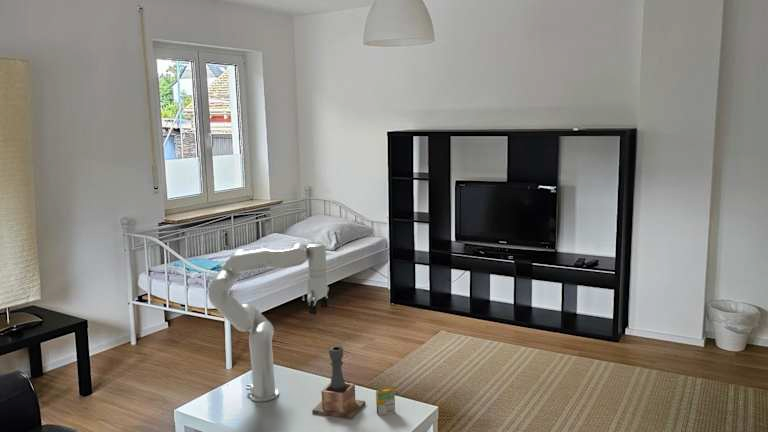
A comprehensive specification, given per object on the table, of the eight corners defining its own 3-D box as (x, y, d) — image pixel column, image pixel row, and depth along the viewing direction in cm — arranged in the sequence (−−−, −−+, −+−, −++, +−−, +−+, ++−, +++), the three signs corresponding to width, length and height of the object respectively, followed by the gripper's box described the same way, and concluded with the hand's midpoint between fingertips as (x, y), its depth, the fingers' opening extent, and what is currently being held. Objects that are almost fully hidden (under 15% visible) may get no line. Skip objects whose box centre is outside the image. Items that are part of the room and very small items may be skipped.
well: (312, 413, 262) (311, 391, 260) (327, 398, 275) (326, 378, 273) (352, 419, 255) (351, 397, 254) (365, 404, 268) (364, 383, 267)
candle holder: (343, 409, 261) (341, 351, 257) (329, 408, 263) (326, 351, 258) (347, 402, 267) (345, 346, 263) (333, 401, 268) (331, 345, 264)
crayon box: (393, 410, 263) (392, 383, 261) (395, 413, 260) (394, 386, 258) (376, 412, 261) (375, 386, 259) (378, 416, 258) (377, 389, 256)
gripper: (319, 267, 282) (320, 304, 284) (299, 276, 266) (300, 315, 269) (334, 268, 279) (335, 306, 281) (315, 278, 263) (316, 317, 266)
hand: (318, 310), depth 275 cm, fingers open, 9 cm apart
